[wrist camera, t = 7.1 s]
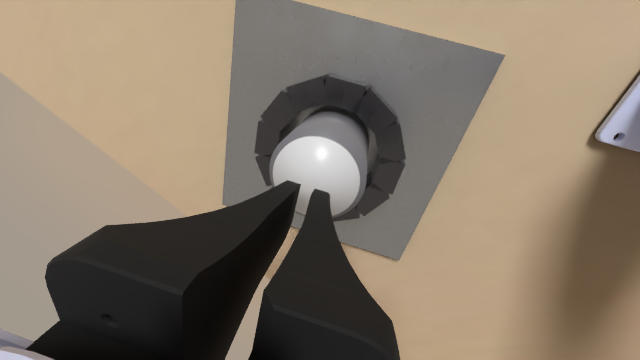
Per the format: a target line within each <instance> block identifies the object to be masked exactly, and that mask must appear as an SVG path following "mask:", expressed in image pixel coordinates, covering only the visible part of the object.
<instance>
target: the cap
mask: <svg viewBox="0 0 640 360" xmlns="http://www.w3.org/2000/svg"><path fill="white" fill-rule="evenodd" d="M368 149H369V136H368V131H367V129H366V126H365V124H364V123H363V121H362V120H361V119H360V118H359V117H358V116H357V115H356V114H355V113H354V112H352V111H348V110H345V109H341V108H338V107H334V106H327V107H323V108H320V109H318V110H316V111H314V112H313V113H311V114H310V115H309V116H308V117H307V118H306V119H305V120H304V121H303V122H302V123H300V124H299V125H298V126H297V127H296V128H295V129H294V130H293V131H292V132H291V133H290V134H289V135H288V136H286V137H285V138H284V139H283V140H282V141H281V142H280V143H279V144H278V146H277V147H276V149H275V150H274V152H273V154H272V157H271V160H270V166H269V174H270V180H271V184H272V186H273V187H275V186H277V185H279V184H281V183H283V182H285V181H287V180H289V181H292V182H295V183H298V184H301V186H300V191H299V195H298V199H297V204H296V208H295V212H297V213H298V214H301V215H303V216H305V214H306V211H307V207H308V204H309V200H310V196H311V194H312V192H313V191H314V189H318V190H321V191H325V192H328V193H329V194H330V207H331V214H332V218H335V217H338V216H341V215H343V214H345V213H347V212H349V211H350V210H351V209H352V208H354V207H355V206H356V205H357V203H358V202H359V201H360V199H361V197H362V195H363V193H364V190H365V186H366V178H367V164H368Z"/></svg>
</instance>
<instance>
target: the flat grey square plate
mask: <svg viewBox="0 0 640 360" xmlns="http://www.w3.org/2000/svg"><path fill="white" fill-rule="evenodd" d="M504 57H505V55H503V54H499V53H495V52H491V51H487V50H483V49H479V48H475V47H472V46H468V45H464V44H460V43H456V42H452V41H448V40H444V39H440V38H436V37H433V36H429V35H425V34H421V33H417V32H413V31H409V30H405V29H401V28H398V27H394V26H390V25H386V24H382V23H378V22H374V21H370V20H366V19H362V18H359V17H355V16H351V15H347V14H343V13H339V12H335V11H331V10H327V9H324V8H320V7H316V6H312V5H308V4H304V3H300V2H296V1H292V0H236V7H235V22H234V37H233V52H232V67H231V82H230V97H229V112H228V127H227V142H226V157H225V173H224V188H223V203H222V204H223V205H226V206H232V205H235V204H238V203H240V202H243V201H245V200H248V199H250V198H252V197H255V196H257V195H259V194H261V193H263V192H265V191H267V190H269V189H271V188H273V186H272V184H271V180H270V174H269V166H270V160H271V157H272V154H273V152H274V150H275V149H276V147H277V146H278V144H279V143H280V142H281V141H282V140H283V139H284V138H285V137H286V136H288V135H289V134H290V133H291V132H292V131H293V130H294V129H295V128H296V127H297V126H298V125H299V124H300V123H302V122H303V121H304V120H305V119H306V118H307V117H308V116H309V115H310V114H311V113H313V112H314V111H316V110H318V109H320V108H323V107H327V106H334V107H338V108H341V109H345V110H348V111H352V112H354V113H355V114H356V115H357V116H358V117H359V118H360V119H361V120H362V121H363V123H364V124H365V126H366V129H367V131H368V136H369V149H368V164H367V178H366V186H365V190H364V193H363V195H362V197H361V199H360V201H359V202H358V203H357V205H356V206H355V207H354V208H352V209H351V210H350V211H349V212H347V213H345V214H343V215H341V216H338V217H335V218H333V222H334V226H335V230H336V233H337V236H338V238H339V241H340V242H342V243H345V244H348V245H352V246H355V247H358V248H361V249H364V250H367V251H370V252H374V253H377V254H380V255H383V256H386V257H389V258H392V259H396V260H399V259H400V258H401V256H402V254H403V252H404V250H405V248H406V246H407V244H408V242H409V240H410V238H411V236H412V234H413V232H414V231H415V229H416V227H417V225H418V223H419V221H420V219H421V217H422V215H423V213H424V211H425V209H426V207H427V205H428V203H429V202H430V200H431V198H432V196H433V194H434V192H435V190H436V188H437V186H438V184H439V182H440V180H441V178H442V176H443V174H444V173H445V171H446V169H447V167H448V165H449V163H450V161H451V159H452V157H453V155H454V153H455V151H456V149H457V147H458V145H459V144H460V142H461V140H462V138H463V136H464V134H465V132H466V130H467V128H468V126H469V124H470V122H471V120H472V118H473V116H474V115H475V113H476V111H477V109H478V107H479V105H480V103H481V101H482V99H483V97H484V95H485V93H486V91H487V89H488V88H489V86H490V84H491V82H492V80H493V78H494V76H495V74H496V72H497V70H498V68H499V66H500V64H501V62H502V60H503V59H504ZM304 218H305V216H303V215H301V214H298V213H297V212H294V217H293V221H292V224H291V226H292V227H295V228H298V229H300V228H301V226H302V224H303V221H304Z"/></svg>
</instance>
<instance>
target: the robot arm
mask: <svg viewBox="0 0 640 360" xmlns="http://www.w3.org/2000/svg"><path fill="white" fill-rule="evenodd" d="M618 133H619V136H618V137H617V138H616V139H613V138H614V136H615V135H616V134H618ZM595 138H596V139H597V140H598V141H601V142H603V143H607V144H611V145H614V146H618V147H622V148H625V149H629V150H633V151H636V152H640V75H639V77H638V78H637V79H636V80H635V82H634V83H633V84H632V86H631V87H630V88H629V90H628V91H627V92H626V94H625V95H624V96H623V97H622V99H621V100H620V101H619V103H618V104H617V105H616V107H615V108H614V109H613V111H612V112H611V113H610V114H609V116H608V117H607V118H606V120H605V121H604V122H603V124H602V125H601V126H600V128H599V129H598V130H597V132H596V134H595ZM300 186H301V184H298V183H295V182H292V181H289V180H287V181H285V182H283V183H281V184H279V185H277V186H275V187H273V188H271V189H269V190H267V191H265V192H263V193H261V194H259V195H257V196H255V197H252V198H250V199H248V200H245V201H243V202H240V203H238V204H235V205H232V206H229V207H226V208H223V209H219V210H216V211H212V212H208V213H203V214H199V215H194V216H190V217H185V218H178V219H172V220H165V221H157V222H148V223H135V224H122V225H107V226H104V227H103V228H101V229H99V230H98V231H96V232H94V233H93V234H91V235H90V236H88V237H87V238H85V239H84V240H82V241H80V242H78V243H77V244H75V245H74V246H72V247H71V248H69V249H67V250H66V251H64V252H62V253H61V254H59V255H58V256H56V257H54V258H53V259H52V260H51V261H50V262H49V263H48V265H47V269H46V275H45V279H46V283H47V287H48V290H49V293H50V295H51V298H52V301H53V303H54V306H55V308H56V311H57V313H58V316H59V318H60V321H58V322H57V323H56V324H55V325H54V326H52V327H51V328H50V329H49V330H48V331H46V332H45V333H44V334H43V335H42V336H41V337H40V338H38V339H37V340H36V341H31V340H29V339H26V338H23V337H21V336H18V335H15V334H13V333H10V332H7V331H5V330H2V329H0V360H225V357H226V355H227V353H228V350H229V348H230V346H231V343H232V341H233V339H234V337H235V335H236V332H237V330H238V328H239V326H240V323H241V321H242V319H243V317H244V314H245V312H246V310H247V308H248V306H249V304H250V302H251V299H252V297H253V295H254V293H255V291H256V289H257V287H258V285H259V283H260V281H261V280H262V278H263V276H264V275H265V273H266V271H267V269H268V268H269V266H270V264H271V263H272V261H273V259H274V258H275V256H276V254H277V252H278V251H279V249H280V247H281V246H282V244H283V242H284V240H285V238H286V236H287V233H288V231H289V229H290V226H291V224H292V221H293V217H294V212H295V208H296V204H297V199H298V195H299V191H300ZM248 360H400V356H399V350H398V345H397V340H396V335H395V331H394V327H393V323H392V320H391V319H390V318H389V317H388V316H387V314H386V313H385V312H384V311H383V310H382V309H381V307H380V306H379V305H378V304H377V303H376V301H375V300H374V299H373V298H372V297H371V295H370V294H369V293H368V291H367V290H366V288H365V287H364V286H363V284H362V283H361V281H360V280H359V278H358V276H357V275H356V273H355V272H354V270H353V268H352V267H351V265H350V263H349V261H348V259H347V257H346V255H345V253H344V251H343V248H342V246H341V244H340V241H339V238H338V236H337V233H336V230H335V226H334V222H333V218H332V214H331V207H330V194H329V193H328V192H325V191H321V190H318V189H314V191H313V192H312V194H311V196H310V200H309V204H308V207H307V211H306V214H305V218H304V221H303V224H302V226H301V228H300V230H299V232H298V234H297V236H296V238H295V240H294V242H293V244H292V246H291V248H290V249H289V251H288V253H287V255H286V257H285V258H284V260H283V262H282V263H281V265H280V267H279V268H278V270H277V271H276V273H275V275H274V276H273V278H272V279H271V281H270V282H269V284H268V285H267V287H266V288H265V289H264V292H263V297H262V303H261V307H260V312H259V318H258V323H257V328H256V333H255V338H254V343H253V349H252V352H251V355H250V357H249V359H248Z"/></svg>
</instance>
